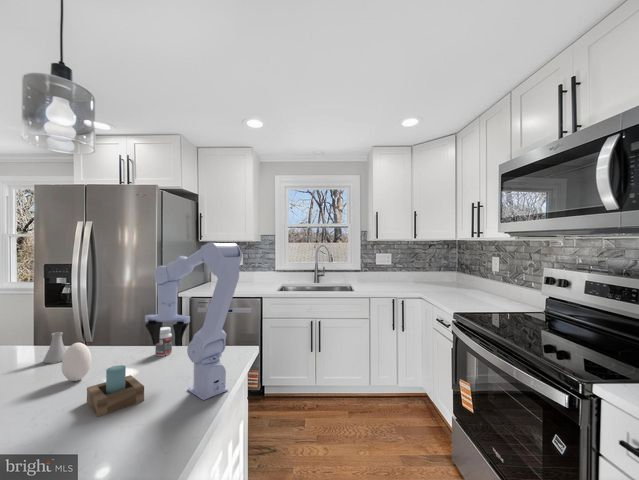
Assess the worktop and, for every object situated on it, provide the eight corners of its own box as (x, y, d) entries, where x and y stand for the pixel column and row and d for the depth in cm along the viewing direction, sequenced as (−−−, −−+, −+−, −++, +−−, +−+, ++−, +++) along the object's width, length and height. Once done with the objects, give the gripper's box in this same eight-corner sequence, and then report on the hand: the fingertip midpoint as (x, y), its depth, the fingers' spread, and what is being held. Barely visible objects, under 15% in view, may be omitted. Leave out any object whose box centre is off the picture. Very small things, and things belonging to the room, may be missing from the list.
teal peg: (127, 401, 84) (127, 368, 84) (108, 407, 81) (109, 373, 81) (122, 395, 87) (122, 364, 87) (103, 401, 84) (104, 368, 84)
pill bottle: (167, 356, 117) (167, 330, 118) (152, 356, 118) (152, 330, 118) (174, 351, 123) (174, 326, 123) (160, 351, 123) (160, 326, 123)
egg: (69, 376, 99) (69, 340, 99) (95, 374, 101) (96, 338, 101) (55, 387, 92) (56, 347, 92) (84, 384, 94) (85, 345, 94)
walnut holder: (144, 400, 84) (144, 386, 84) (97, 416, 76) (97, 400, 76) (130, 388, 91) (130, 375, 91) (86, 402, 83) (87, 387, 83)
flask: (38, 362, 111) (38, 335, 111) (60, 356, 117) (60, 329, 118) (52, 365, 108) (52, 336, 109) (74, 358, 115) (74, 331, 116)
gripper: (195, 300, 103) (194, 341, 103) (155, 299, 105) (154, 339, 105) (183, 305, 96) (182, 348, 96) (140, 303, 98) (139, 346, 98)
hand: (167, 344), depth 100 cm, fingers open, 7 cm apart
